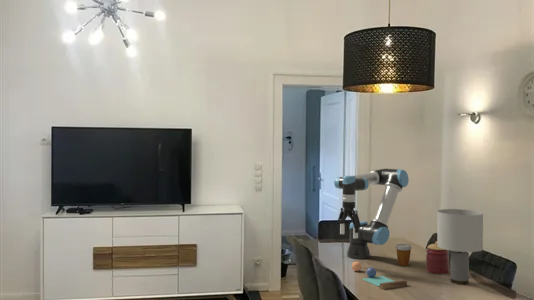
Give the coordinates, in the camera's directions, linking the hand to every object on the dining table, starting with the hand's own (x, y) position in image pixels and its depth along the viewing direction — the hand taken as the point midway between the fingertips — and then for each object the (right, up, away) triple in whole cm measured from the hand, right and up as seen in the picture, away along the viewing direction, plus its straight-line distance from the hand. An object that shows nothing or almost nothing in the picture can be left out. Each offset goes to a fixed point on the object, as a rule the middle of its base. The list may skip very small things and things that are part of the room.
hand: (348, 236), depth 277 cm
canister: (+51, -19, -9) cm, 55 cm away
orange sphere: (+3, -16, -8) cm, 18 cm away
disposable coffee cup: (+35, -19, +6) cm, 40 cm away
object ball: (+9, -16, -21) cm, 28 cm away
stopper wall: (+17, -19, -38) cm, 46 cm away
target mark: (+12, -19, -28) cm, 36 cm away
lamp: (+55, -19, -30) cm, 65 cm away
